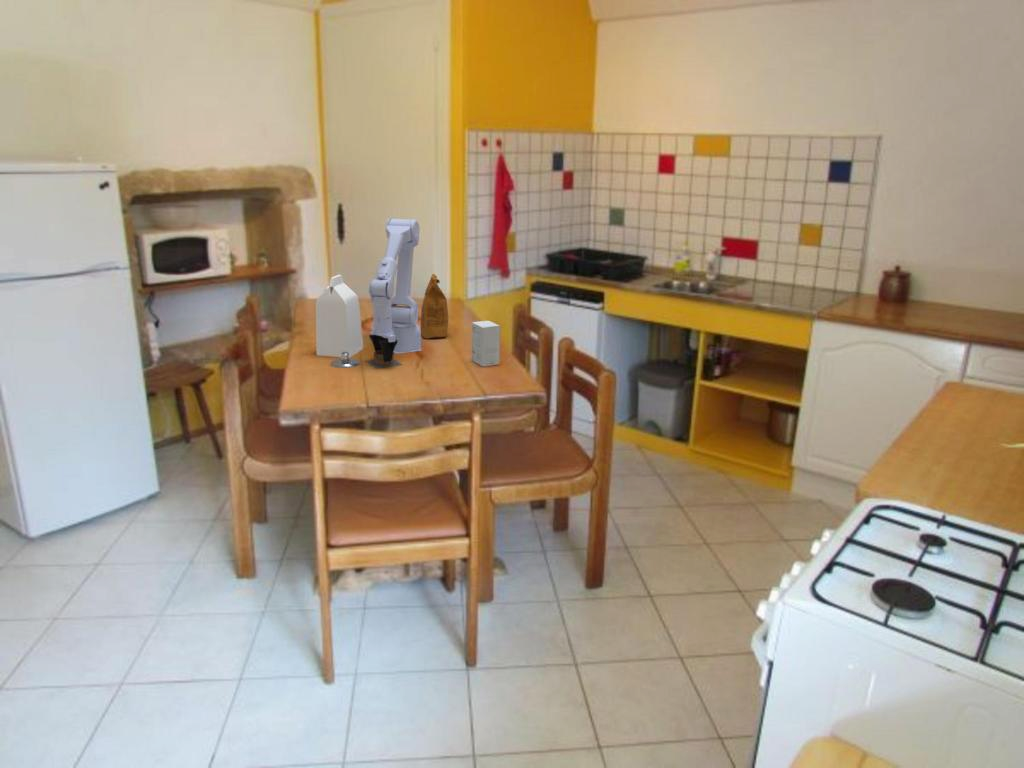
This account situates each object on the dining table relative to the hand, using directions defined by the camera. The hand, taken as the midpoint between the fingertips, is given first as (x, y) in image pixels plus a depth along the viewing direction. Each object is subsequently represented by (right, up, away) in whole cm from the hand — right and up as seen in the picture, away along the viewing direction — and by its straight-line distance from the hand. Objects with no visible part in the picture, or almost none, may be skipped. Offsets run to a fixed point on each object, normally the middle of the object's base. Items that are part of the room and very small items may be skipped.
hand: (383, 358), depth 239 cm
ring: (0, -1, 0) cm, 1 cm away
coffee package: (+12, +10, +37) cm, 41 cm away
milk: (-17, +2, +12) cm, 21 cm away
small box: (+32, -1, +6) cm, 33 cm away
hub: (-12, -2, -1) cm, 12 cm away
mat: (0, -2, +1) cm, 2 cm away
